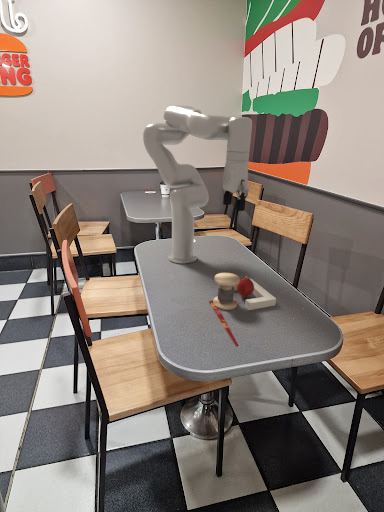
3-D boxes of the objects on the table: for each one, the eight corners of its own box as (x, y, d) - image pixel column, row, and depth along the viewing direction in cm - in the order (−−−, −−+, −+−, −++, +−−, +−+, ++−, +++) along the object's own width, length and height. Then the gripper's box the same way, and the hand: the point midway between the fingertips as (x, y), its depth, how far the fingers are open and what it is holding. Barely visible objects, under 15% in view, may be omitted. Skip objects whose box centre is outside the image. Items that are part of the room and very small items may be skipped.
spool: (209, 299, 107) (210, 274, 103) (230, 296, 110) (232, 271, 106) (219, 311, 100) (221, 284, 96) (241, 307, 103) (244, 281, 99)
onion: (235, 292, 112) (237, 272, 109) (251, 293, 112) (253, 272, 109) (236, 300, 107) (238, 279, 104) (254, 301, 107) (256, 280, 104)
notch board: (226, 288, 115) (227, 282, 114) (250, 284, 119) (251, 278, 118) (248, 310, 101) (249, 303, 100) (275, 305, 105) (276, 298, 104)
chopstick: (234, 347, 84) (235, 344, 84) (208, 303, 106) (208, 300, 105) (241, 346, 85) (241, 343, 84) (214, 302, 106) (214, 299, 106)
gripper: (216, 155, 112) (213, 202, 119) (239, 159, 97) (235, 214, 104) (235, 155, 115) (231, 202, 121) (261, 159, 100) (255, 212, 106)
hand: (233, 207), depth 112 cm, fingers open, 9 cm apart
